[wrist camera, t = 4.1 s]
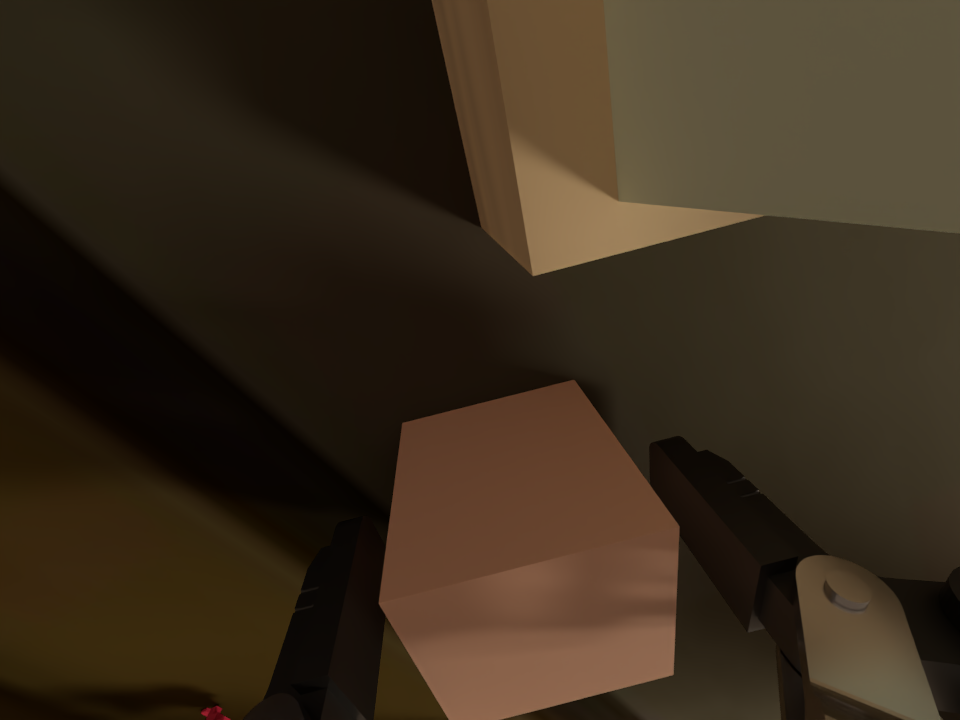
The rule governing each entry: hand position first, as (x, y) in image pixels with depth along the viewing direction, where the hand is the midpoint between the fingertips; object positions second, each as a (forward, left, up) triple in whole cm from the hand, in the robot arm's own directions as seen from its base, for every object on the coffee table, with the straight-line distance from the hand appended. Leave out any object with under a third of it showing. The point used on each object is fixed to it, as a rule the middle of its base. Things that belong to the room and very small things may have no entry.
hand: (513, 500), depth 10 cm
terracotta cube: (0, 0, -1) cm, 1 cm away
